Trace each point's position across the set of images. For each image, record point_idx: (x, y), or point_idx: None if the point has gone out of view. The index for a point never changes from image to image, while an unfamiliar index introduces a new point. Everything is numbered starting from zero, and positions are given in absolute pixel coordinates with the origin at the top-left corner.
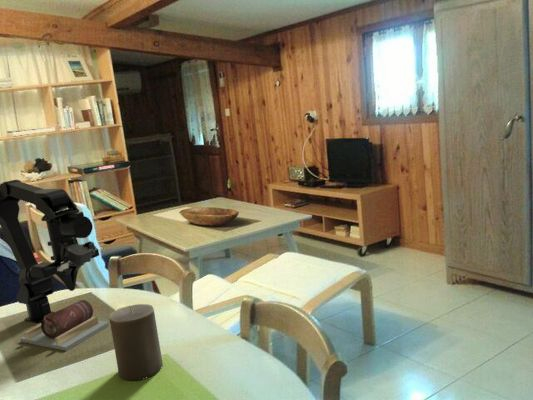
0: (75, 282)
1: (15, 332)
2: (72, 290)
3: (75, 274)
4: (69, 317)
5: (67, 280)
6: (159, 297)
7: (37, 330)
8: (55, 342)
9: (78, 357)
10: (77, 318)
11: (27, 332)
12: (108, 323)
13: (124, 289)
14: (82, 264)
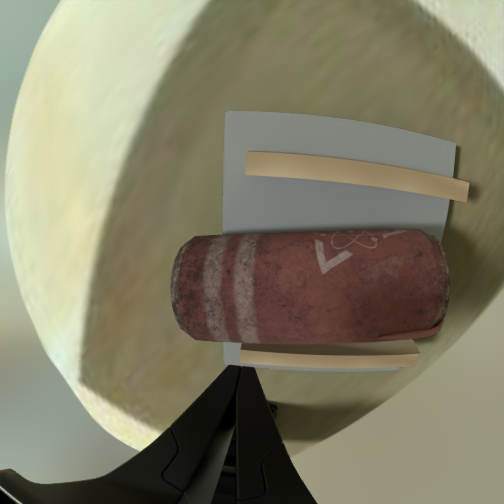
0: (200, 400)
1: (336, 415)
2: (252, 367)
3: (166, 462)
4: (359, 246)
5: (285, 457)
6: (15, 131)
7: (382, 348)
8: (433, 219)
9: (463, 68)
10: (306, 234)
11: (416, 355)
12: (228, 111)
13: (25, 300)
14: (16, 489)
